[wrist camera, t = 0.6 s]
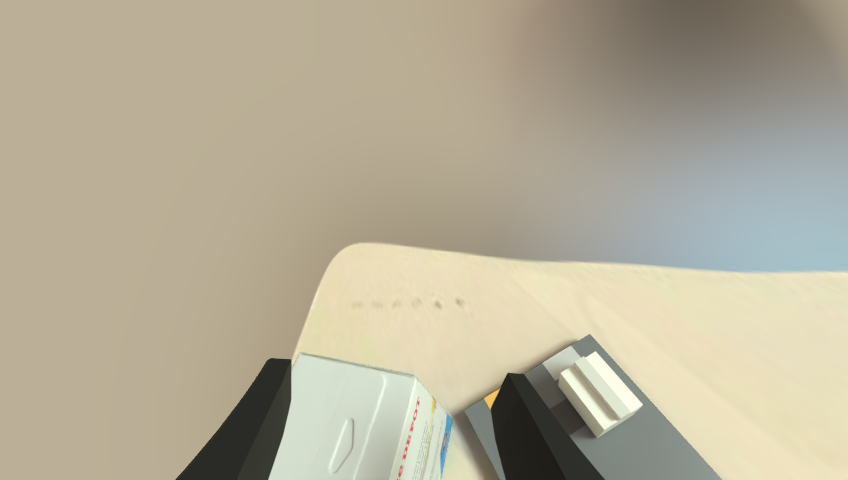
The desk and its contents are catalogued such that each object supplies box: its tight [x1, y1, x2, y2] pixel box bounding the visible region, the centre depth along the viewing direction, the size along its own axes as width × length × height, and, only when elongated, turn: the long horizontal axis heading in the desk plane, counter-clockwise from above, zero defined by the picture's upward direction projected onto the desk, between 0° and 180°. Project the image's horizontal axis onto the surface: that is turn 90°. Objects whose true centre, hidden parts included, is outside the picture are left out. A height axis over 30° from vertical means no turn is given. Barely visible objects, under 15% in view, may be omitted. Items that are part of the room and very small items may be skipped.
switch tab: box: [558, 351, 643, 438], centre depth 23 cm, size 4×3×4 cm
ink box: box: [268, 352, 452, 480], centre depth 23 cm, size 9×8×12 cm
